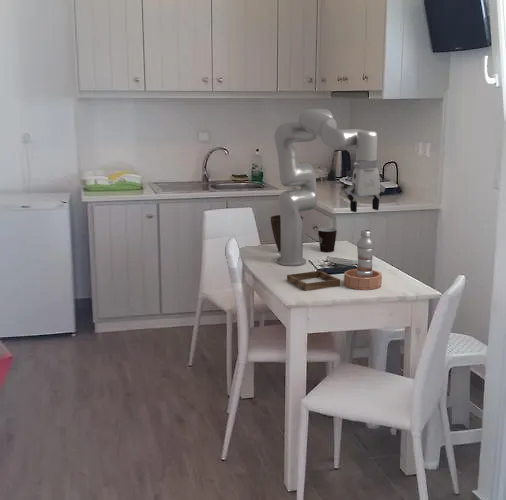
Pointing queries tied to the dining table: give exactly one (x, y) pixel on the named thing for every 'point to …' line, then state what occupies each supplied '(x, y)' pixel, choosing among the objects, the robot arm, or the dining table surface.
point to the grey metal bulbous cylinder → (365, 255)
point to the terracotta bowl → (362, 280)
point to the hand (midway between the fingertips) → (364, 210)
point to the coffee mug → (327, 239)
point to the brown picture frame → (329, 282)
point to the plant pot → (277, 230)
